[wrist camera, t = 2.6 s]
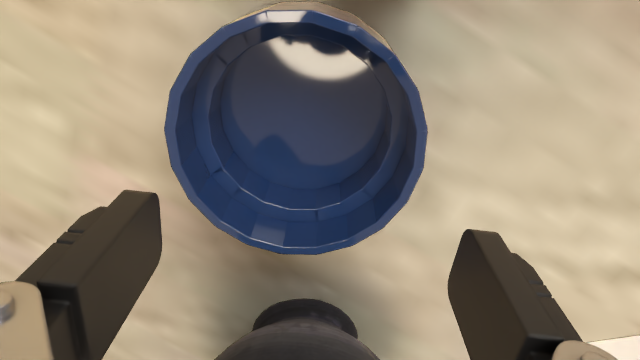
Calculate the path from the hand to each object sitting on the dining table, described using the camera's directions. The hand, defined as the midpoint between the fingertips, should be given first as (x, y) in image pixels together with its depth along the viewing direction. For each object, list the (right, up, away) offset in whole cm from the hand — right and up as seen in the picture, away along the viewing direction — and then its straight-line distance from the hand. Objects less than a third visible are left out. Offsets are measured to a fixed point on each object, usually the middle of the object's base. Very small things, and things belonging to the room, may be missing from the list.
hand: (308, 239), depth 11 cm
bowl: (-1, +6, +18) cm, 19 cm away
